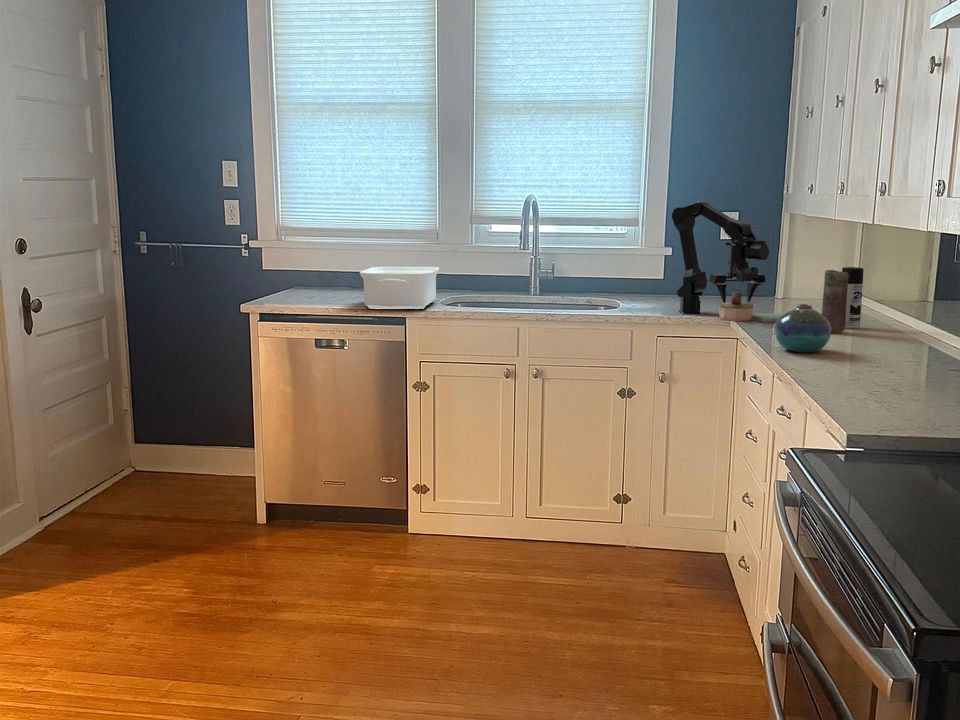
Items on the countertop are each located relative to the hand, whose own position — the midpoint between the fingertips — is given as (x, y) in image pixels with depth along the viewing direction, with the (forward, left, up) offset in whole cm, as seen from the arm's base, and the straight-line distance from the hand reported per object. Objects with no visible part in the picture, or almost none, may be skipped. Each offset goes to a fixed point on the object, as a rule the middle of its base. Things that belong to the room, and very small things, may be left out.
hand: (736, 302), depth 316 cm
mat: (+13, -3, -6) cm, 15 cm away
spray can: (+29, -25, -6) cm, 39 cm away
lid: (0, 0, -1) cm, 1 cm away
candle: (+19, -33, -6) cm, 39 cm away
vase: (-6, -62, -6) cm, 63 cm away
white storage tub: (-117, +54, -6) cm, 130 cm away
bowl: (0, 0, -6) cm, 6 cm away
